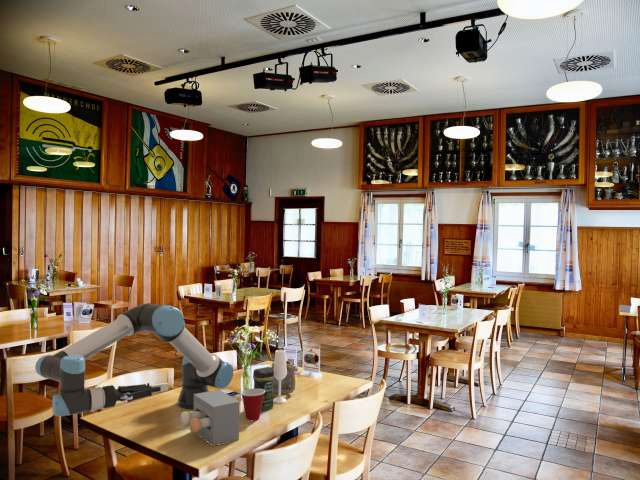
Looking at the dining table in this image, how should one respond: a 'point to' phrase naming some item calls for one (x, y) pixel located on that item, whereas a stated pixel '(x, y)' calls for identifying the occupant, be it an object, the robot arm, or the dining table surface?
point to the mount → (218, 416)
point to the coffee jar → (265, 385)
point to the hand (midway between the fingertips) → (167, 386)
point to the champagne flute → (280, 372)
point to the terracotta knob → (199, 424)
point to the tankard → (286, 379)
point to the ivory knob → (189, 417)
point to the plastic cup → (252, 403)
